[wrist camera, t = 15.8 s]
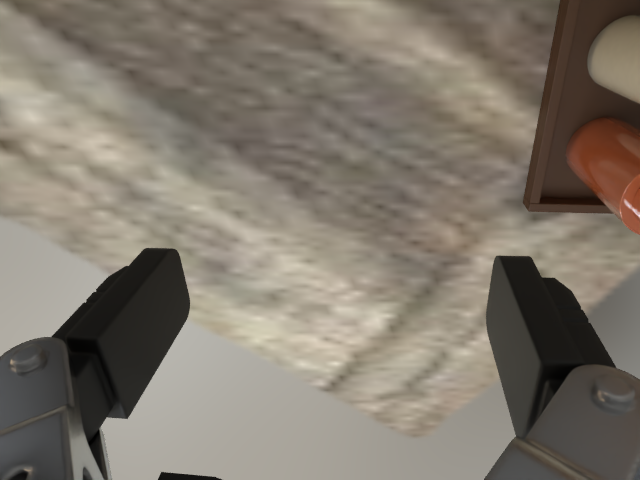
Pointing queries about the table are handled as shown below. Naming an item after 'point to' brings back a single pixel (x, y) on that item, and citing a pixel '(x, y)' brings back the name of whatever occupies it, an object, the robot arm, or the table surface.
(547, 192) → the tray
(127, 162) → the table surface
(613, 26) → the cream bottle
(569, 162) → the terracotta bottle
